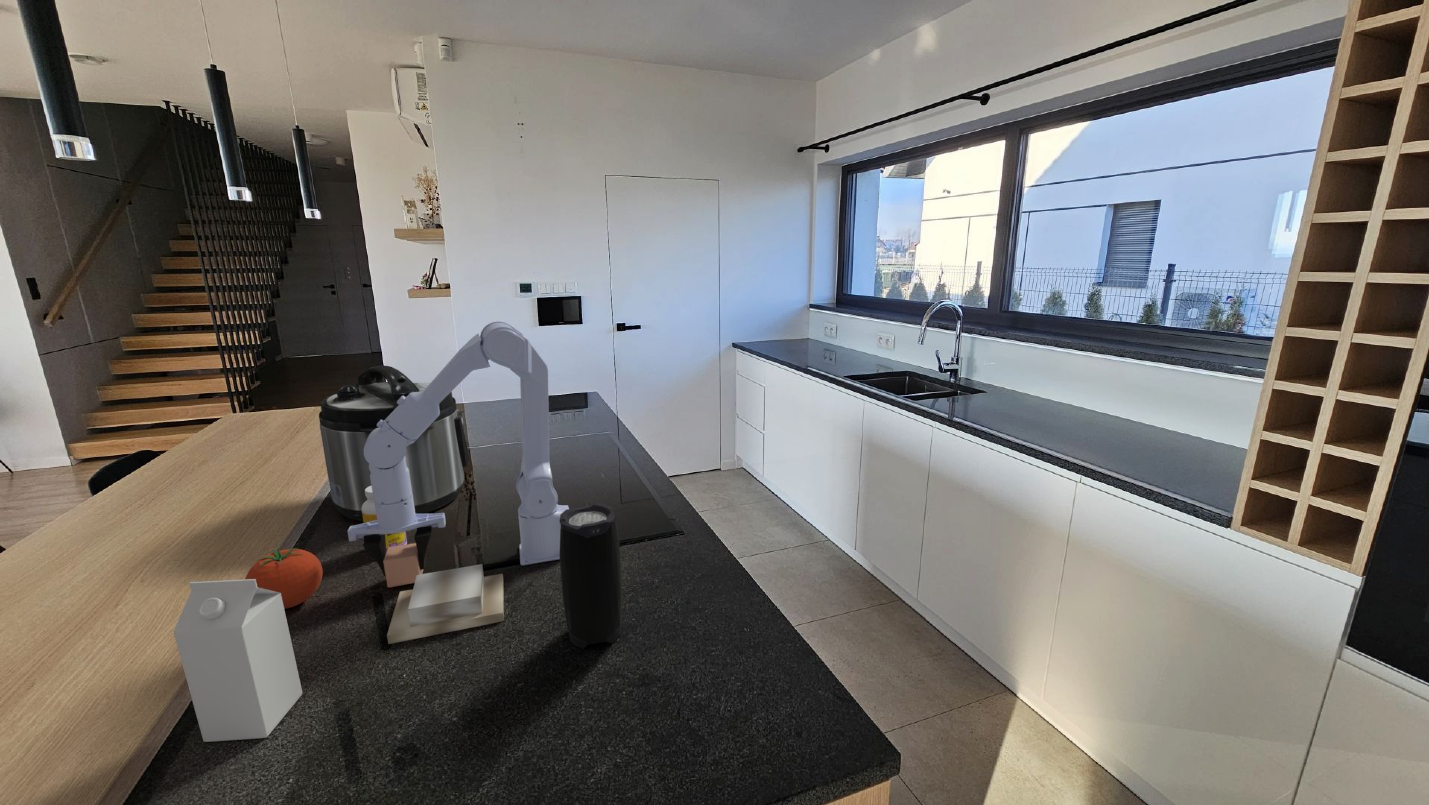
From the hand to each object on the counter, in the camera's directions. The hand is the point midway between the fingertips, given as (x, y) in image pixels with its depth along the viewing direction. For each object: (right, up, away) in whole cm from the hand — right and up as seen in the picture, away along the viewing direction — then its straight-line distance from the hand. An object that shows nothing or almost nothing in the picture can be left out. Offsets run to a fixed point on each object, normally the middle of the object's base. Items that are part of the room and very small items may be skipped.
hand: (405, 569), depth 101 cm
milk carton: (-3, -10, -29) cm, 31 cm away
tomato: (-16, -4, -6) cm, 17 cm away
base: (+12, -4, -8) cm, 15 cm away
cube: (0, -1, 0) cm, 1 cm away
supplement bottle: (-10, 0, +12) cm, 15 cm away
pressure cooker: (-18, +6, +34) cm, 39 cm away
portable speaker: (+36, -6, -14) cm, 39 cm away
